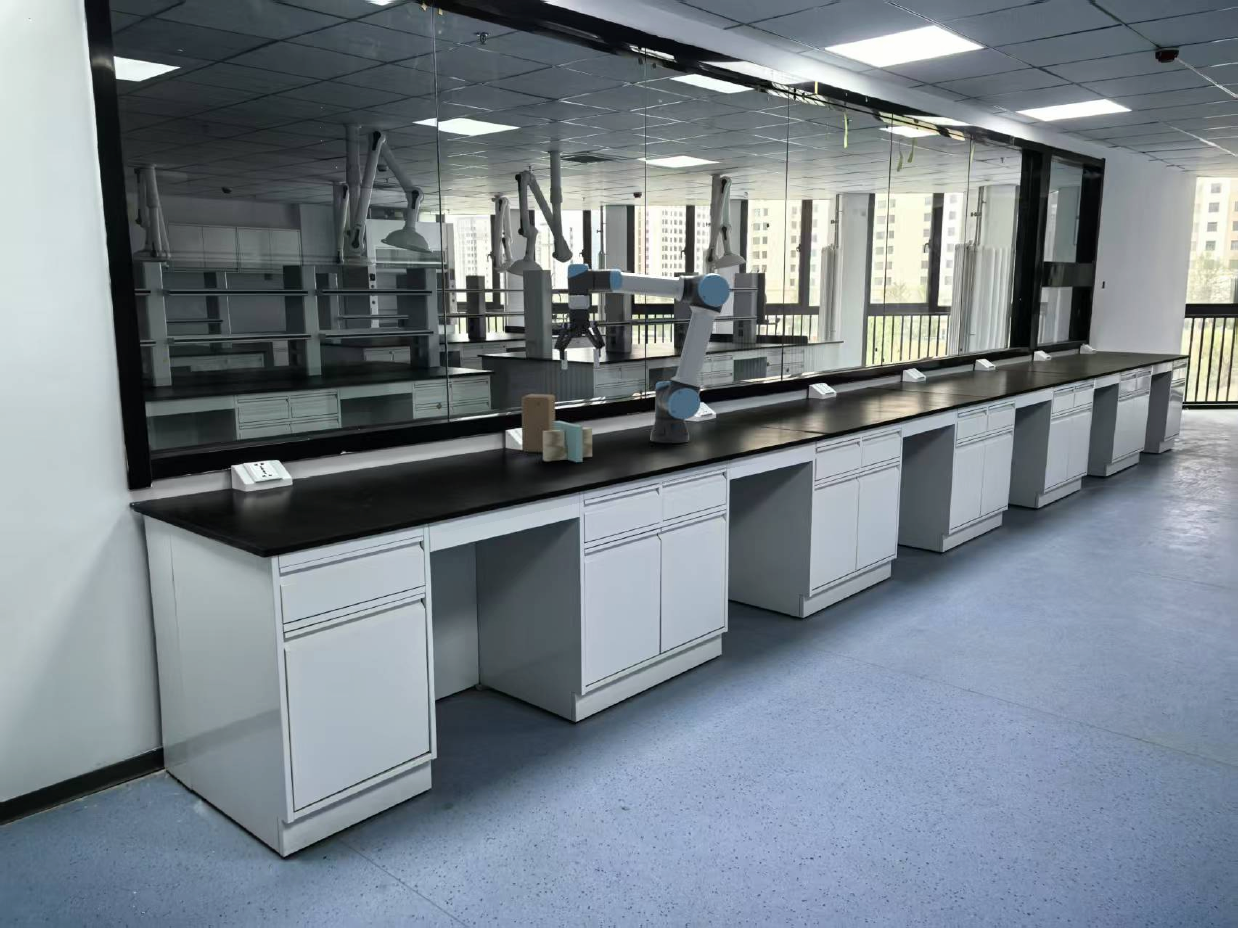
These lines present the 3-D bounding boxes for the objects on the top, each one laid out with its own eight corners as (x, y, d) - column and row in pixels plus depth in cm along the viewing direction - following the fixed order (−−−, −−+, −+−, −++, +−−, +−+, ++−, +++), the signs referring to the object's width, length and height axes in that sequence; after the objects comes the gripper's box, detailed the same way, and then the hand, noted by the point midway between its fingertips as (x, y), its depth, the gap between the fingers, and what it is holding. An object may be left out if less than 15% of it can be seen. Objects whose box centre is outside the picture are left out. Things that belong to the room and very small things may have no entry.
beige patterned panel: (588, 455, 312) (588, 427, 310) (592, 456, 310) (592, 428, 308) (543, 460, 302) (542, 431, 300) (546, 461, 300) (546, 431, 298)
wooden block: (548, 453, 316) (547, 397, 313) (521, 452, 318) (520, 396, 315) (555, 448, 326) (555, 394, 322) (529, 447, 328) (529, 393, 324)
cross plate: (553, 455, 312) (553, 421, 310) (559, 454, 313) (559, 420, 311) (576, 462, 299) (576, 426, 297) (582, 461, 300) (582, 426, 298)
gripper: (602, 307, 326) (603, 365, 330) (543, 309, 312) (545, 369, 316) (613, 307, 320) (615, 366, 324) (554, 309, 306) (556, 370, 310)
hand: (580, 368), depth 320 cm, fingers open, 13 cm apart
